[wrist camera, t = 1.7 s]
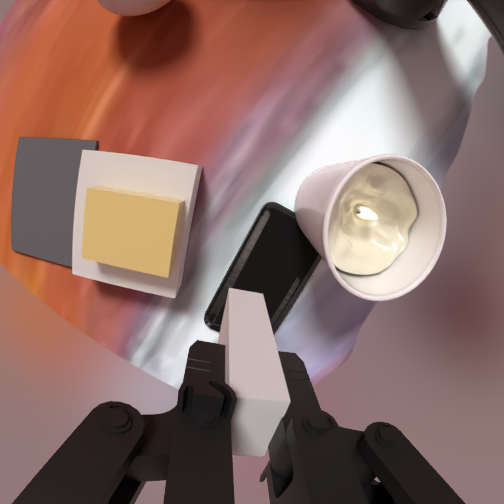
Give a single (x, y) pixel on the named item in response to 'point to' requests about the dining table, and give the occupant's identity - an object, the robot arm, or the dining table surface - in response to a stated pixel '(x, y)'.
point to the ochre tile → (131, 229)
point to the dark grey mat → (46, 196)
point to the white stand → (142, 180)
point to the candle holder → (374, 223)
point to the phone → (268, 265)
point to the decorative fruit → (132, 6)
